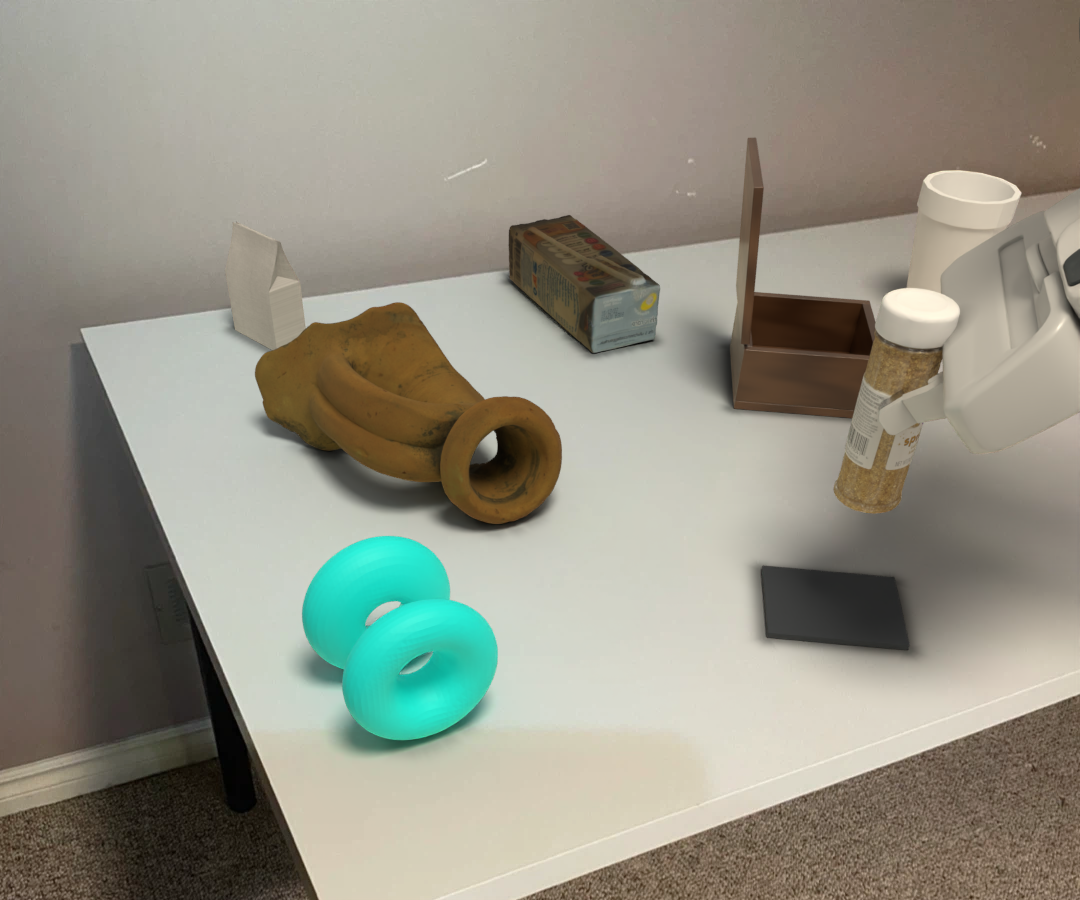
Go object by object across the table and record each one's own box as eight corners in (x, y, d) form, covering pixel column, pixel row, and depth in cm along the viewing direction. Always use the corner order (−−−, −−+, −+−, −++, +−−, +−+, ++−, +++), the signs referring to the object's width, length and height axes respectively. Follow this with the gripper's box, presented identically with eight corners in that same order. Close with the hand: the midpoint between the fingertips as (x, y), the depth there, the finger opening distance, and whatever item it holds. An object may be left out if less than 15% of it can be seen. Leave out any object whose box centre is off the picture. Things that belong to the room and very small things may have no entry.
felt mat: (892, 581, 82) (894, 576, 81) (908, 650, 76) (910, 645, 76) (761, 570, 82) (762, 565, 82) (766, 637, 76) (767, 632, 76)
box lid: (756, 137, 95) (747, 137, 95) (763, 186, 86) (753, 187, 86) (744, 285, 104) (735, 286, 104) (749, 344, 95) (740, 344, 95)
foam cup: (927, 288, 120) (964, 164, 111) (995, 320, 115) (1040, 192, 106) (871, 308, 116) (904, 180, 107) (939, 341, 111) (980, 210, 102)
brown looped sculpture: (467, 304, 96) (593, 371, 80) (440, 445, 102) (552, 533, 86) (265, 269, 86) (363, 337, 71) (247, 427, 92) (334, 523, 77)
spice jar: (905, 518, 71) (970, 320, 61) (836, 514, 71) (890, 316, 61) (892, 480, 74) (952, 286, 64) (826, 476, 74) (876, 282, 64)
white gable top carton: (277, 352, 104) (262, 248, 97) (235, 330, 107) (217, 226, 100) (307, 340, 106) (294, 237, 99) (265, 318, 109) (249, 216, 102)
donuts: (440, 629, 76) (436, 510, 69) (505, 719, 70) (507, 598, 62) (305, 671, 72) (285, 550, 65) (360, 770, 66) (345, 648, 59)
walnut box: (855, 357, 108) (869, 300, 104) (870, 419, 99) (886, 360, 95) (729, 347, 108) (739, 290, 104) (733, 409, 100) (744, 349, 95)
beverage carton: (588, 356, 106) (593, 290, 101) (504, 281, 118) (505, 219, 113) (657, 342, 109) (665, 277, 104) (568, 270, 120) (571, 209, 116)
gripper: (1067, 155, 65) (863, 292, 73) (1107, 291, 51) (848, 442, 59) (1114, 240, 67) (912, 363, 76) (1164, 393, 53) (909, 524, 62)
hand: (884, 399), depth 67 cm, fingers closed on spice jar, 4 cm apart
